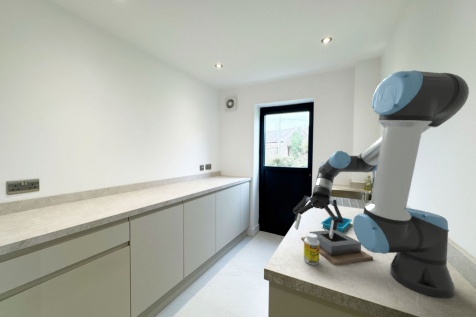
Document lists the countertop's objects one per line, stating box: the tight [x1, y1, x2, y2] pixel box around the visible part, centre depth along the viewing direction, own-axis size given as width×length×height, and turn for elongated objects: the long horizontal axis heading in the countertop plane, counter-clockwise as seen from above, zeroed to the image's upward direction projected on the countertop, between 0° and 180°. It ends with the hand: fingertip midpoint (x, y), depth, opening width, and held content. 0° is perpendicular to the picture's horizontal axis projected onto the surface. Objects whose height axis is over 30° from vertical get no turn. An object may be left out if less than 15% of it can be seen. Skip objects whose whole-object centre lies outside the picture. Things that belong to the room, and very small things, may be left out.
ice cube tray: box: [321, 215, 353, 233], centre depth 112 cm, size 12×20×3 cm, turn 137°
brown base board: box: [300, 236, 374, 266], centre depth 84 cm, size 22×18×1 cm
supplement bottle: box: [303, 233, 320, 266], centre depth 73 cm, size 6×6×10 cm
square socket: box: [309, 229, 362, 256], centre depth 84 cm, size 14×14×4 cm
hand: (312, 232), depth 78 cm, fingers open, 13 cm apart
